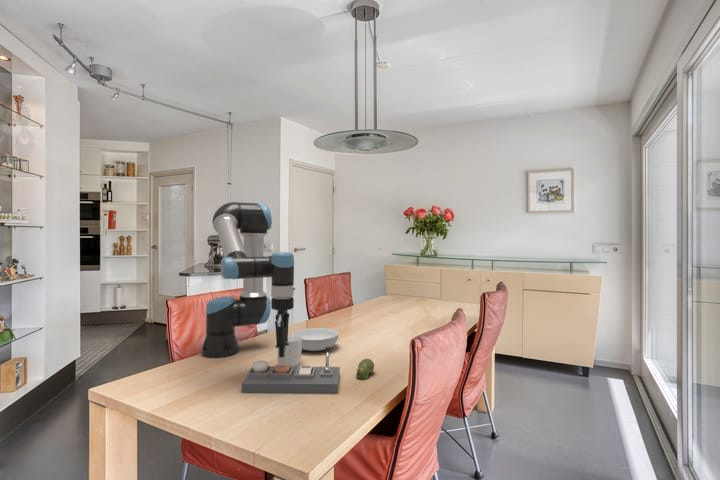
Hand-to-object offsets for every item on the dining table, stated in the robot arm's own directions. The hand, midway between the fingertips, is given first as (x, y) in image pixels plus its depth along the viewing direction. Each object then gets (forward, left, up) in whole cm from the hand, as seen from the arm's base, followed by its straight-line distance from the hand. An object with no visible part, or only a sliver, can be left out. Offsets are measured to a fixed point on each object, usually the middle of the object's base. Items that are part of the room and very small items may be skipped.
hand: (282, 365), depth 132 cm
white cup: (-20, 0, -7) cm, 21 cm away
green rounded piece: (-8, +29, -7) cm, 31 cm away
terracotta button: (0, 0, -3) cm, 3 cm away
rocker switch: (0, +8, -2) cm, 8 cm away
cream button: (0, -8, -2) cm, 8 cm away
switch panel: (0, +4, -6) cm, 7 cm away
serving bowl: (-40, +7, -7) cm, 41 cm away
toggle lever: (0, +15, -1) cm, 16 cm away
